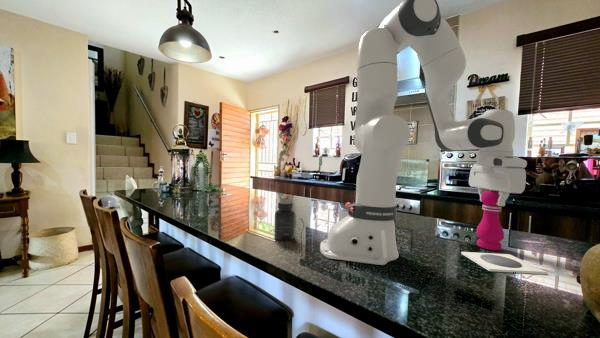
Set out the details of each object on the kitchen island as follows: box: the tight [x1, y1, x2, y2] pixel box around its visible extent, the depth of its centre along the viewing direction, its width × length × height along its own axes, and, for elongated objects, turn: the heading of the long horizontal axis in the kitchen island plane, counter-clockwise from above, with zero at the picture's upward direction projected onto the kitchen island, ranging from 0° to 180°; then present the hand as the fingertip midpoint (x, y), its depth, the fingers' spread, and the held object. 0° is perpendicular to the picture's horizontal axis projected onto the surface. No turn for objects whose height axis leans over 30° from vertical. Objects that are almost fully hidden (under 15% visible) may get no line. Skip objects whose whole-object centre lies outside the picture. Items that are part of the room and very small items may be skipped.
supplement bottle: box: [273, 201, 296, 242], centre depth 84 cm, size 7×7×12 cm
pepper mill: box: [475, 190, 505, 251], centre depth 81 cm, size 7×7×20 cm
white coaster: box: [460, 251, 548, 275], centre depth 69 cm, size 14×12×1 cm
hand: (491, 203), depth 81 cm, fingers closed on pepper mill, 6 cm apart
